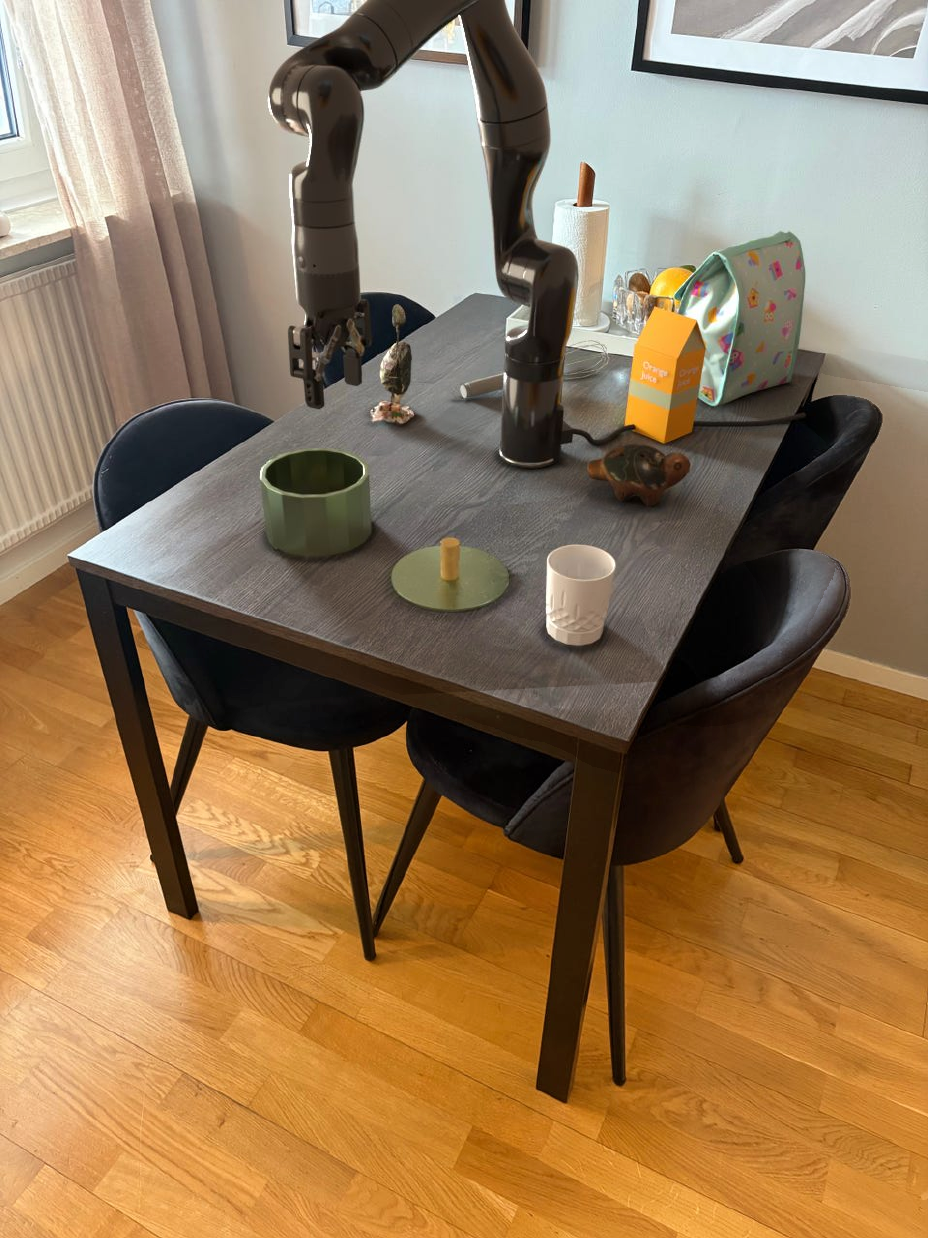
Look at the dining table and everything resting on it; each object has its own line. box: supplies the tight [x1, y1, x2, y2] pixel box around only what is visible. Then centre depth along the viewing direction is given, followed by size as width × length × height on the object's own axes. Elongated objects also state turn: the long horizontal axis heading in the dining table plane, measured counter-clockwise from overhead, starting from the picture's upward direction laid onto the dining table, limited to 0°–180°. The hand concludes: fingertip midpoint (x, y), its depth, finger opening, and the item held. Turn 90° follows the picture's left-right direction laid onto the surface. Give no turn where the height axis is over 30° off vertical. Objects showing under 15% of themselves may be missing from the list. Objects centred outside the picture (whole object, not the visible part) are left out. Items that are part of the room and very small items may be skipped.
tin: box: [259, 447, 372, 558], centre depth 131 cm, size 14×14×10 cm
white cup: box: [545, 544, 617, 647], centre depth 113 cm, size 8×8×10 cm
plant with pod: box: [370, 304, 415, 426], centre depth 161 cm, size 8×11×20 cm
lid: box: [390, 537, 510, 613], centre depth 122 cm, size 15×15×6 cm
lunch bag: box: [673, 230, 806, 407], centre depth 173 cm, size 23×16×27 cm
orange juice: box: [624, 306, 706, 444], centre depth 158 cm, size 8×9×20 cm
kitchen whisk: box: [452, 340, 610, 401], centre depth 178 cm, size 6×34×6 cm, turn 119°
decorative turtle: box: [586, 443, 691, 507], centre depth 142 cm, size 10×15×8 cm, turn 74°
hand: (335, 395), depth 120 cm, fingers open, 8 cm apart
